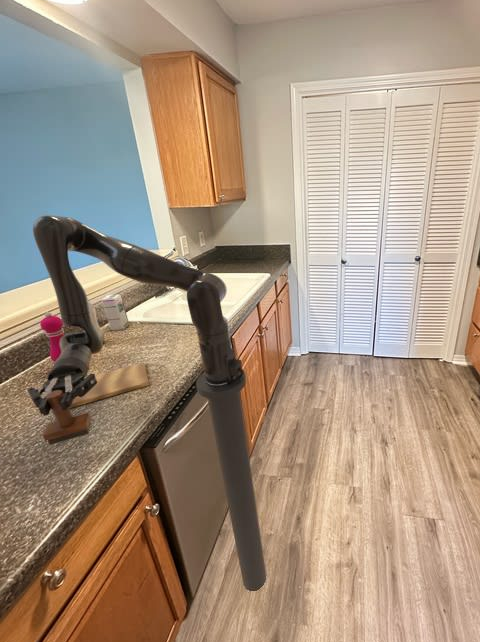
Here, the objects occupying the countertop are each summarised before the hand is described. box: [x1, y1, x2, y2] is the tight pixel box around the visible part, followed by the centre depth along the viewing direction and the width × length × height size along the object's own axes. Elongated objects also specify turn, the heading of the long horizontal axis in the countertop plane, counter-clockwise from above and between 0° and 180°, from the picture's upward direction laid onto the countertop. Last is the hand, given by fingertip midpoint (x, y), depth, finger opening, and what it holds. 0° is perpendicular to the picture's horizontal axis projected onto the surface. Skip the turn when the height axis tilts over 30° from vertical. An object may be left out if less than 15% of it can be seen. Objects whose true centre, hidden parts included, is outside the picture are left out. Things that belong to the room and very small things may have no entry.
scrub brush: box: [42, 390, 92, 446], centre depth 71 cm, size 8×4×11 cm, turn 114°
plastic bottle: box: [83, 294, 105, 343], centre depth 125 cm, size 6×7×20 cm
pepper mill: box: [39, 311, 65, 363], centre depth 110 cm, size 7×7×20 cm
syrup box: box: [101, 293, 130, 331], centre depth 141 cm, size 6×6×14 cm
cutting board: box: [69, 362, 150, 409], centre depth 100 cm, size 24×14×1 cm, turn 119°
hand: (54, 409), depth 67 cm, fingers closed on scrub brush, 3 cm apart
